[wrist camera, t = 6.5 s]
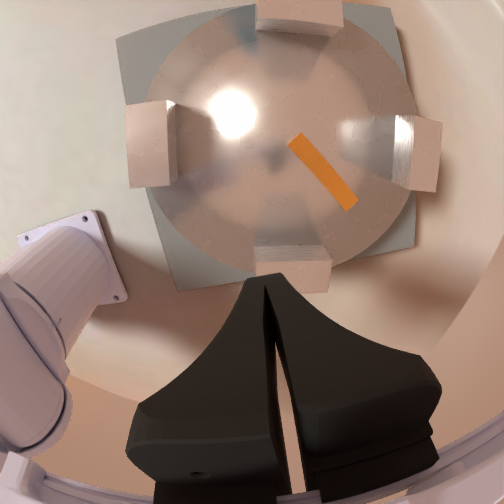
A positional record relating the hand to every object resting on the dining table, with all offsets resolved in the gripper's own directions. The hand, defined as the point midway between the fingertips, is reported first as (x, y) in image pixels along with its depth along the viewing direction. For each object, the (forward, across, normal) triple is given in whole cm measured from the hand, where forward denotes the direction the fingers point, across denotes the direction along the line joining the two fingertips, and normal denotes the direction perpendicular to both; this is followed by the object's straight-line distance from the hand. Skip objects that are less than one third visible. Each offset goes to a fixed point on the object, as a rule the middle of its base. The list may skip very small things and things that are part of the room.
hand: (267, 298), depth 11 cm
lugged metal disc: (+8, -3, -5) cm, 10 cm away
